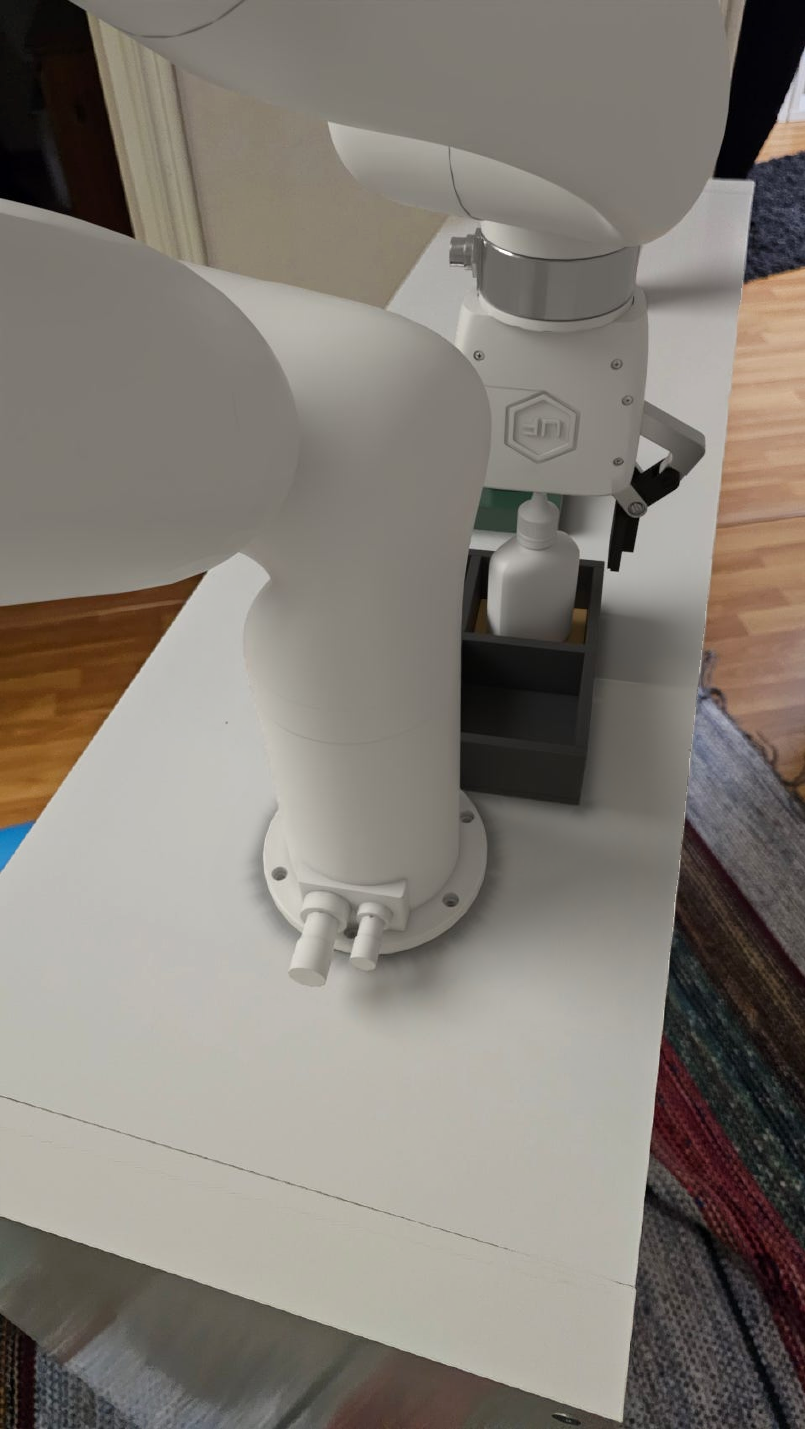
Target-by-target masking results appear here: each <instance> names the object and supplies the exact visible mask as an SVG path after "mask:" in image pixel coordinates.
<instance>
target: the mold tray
mask: <svg viewBox="0 0 805 1429" xmlns="http://www.w3.org/2000/svg"><path fill="white" fill-rule="evenodd" d="M495 551H496V550H489V549H477V548H469V551H468V558H467V565H466V571H465V579H464V590H463V601H462V623H461V710H460V789H461V790H462V791H466V792H474V793H482V794H489V795H498V796H503V797H512V798H519V799H527V800H533V801H534V800H535V801H540V802H542V801H543V802H548V803H549V802H550V803H556V804H564V805H569V806H570V805H571V806H579V805H580V802H581V796H582V790H583V784H584V777H585V771H586V766H587V759H588V751H589V741H590V731H591V730H590V729H591V717H592V708H593V696H594V688H595V687H594V686H595V676H596V662H597V653H598V642H599V631H600V620H601V611H602V610H601V609H602V598H603V589H604V588H603V587H604V578H605V568H606V567H605V566H606V565H605V564H606V561H605V560H595V559H584V558H579V569H578V578H577V586H576V595H575V603H574V611H573V619H572V627H571V632H570V634H569V636H568V638H567V639H566V640H565V641H564V642H554V641H545V640H535V639H526V638H517V637H508V636H498V635H489V634H486V631H487V603H488V579H489V563H490V559H491V557H492V555H493V553H494V552H495Z"/></svg>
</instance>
